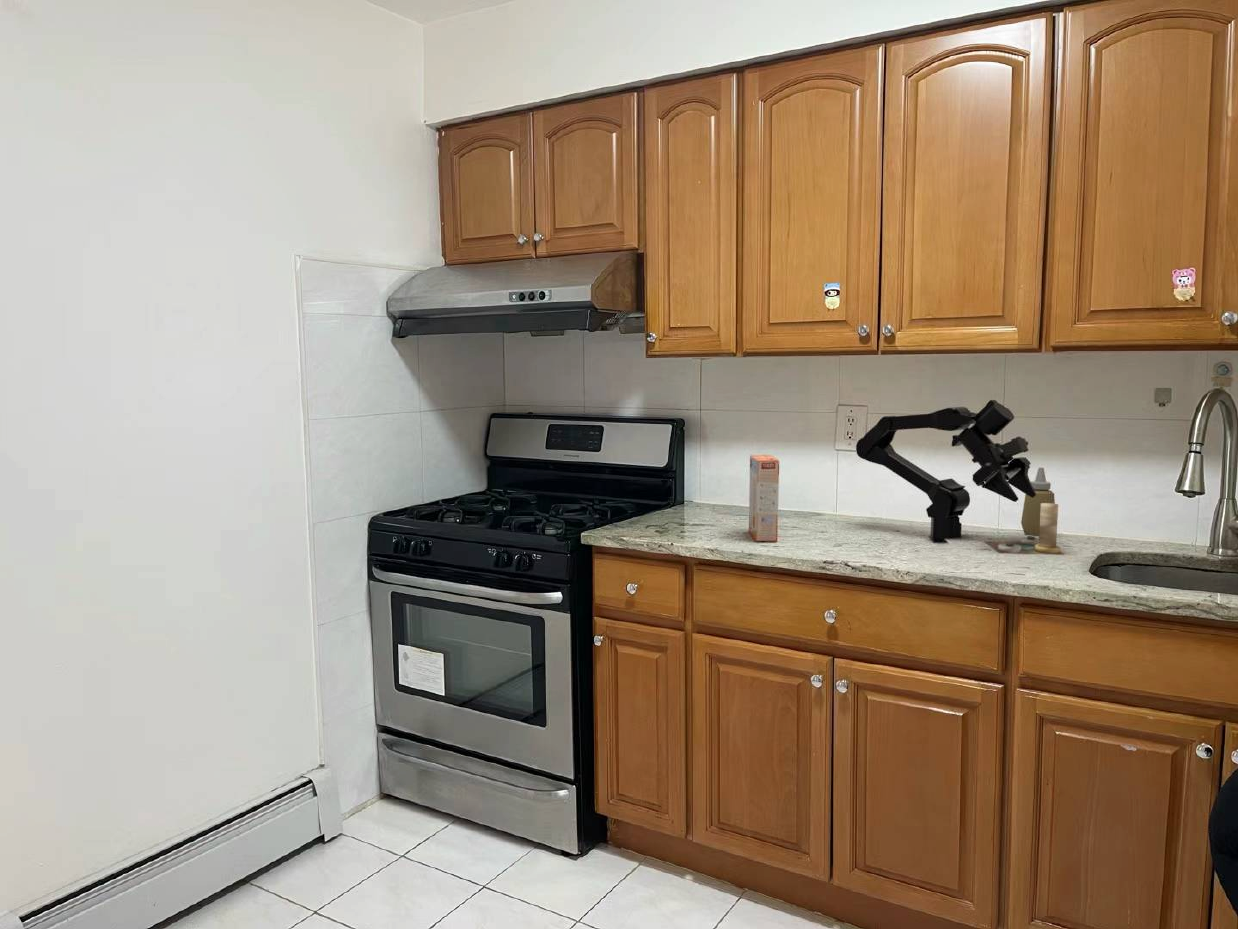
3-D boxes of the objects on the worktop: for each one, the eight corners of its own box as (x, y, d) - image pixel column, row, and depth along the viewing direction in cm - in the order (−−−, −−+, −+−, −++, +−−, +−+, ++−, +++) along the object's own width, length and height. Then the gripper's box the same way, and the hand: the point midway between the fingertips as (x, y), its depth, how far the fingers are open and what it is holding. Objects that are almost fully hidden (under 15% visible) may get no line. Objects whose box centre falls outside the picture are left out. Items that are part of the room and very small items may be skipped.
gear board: (998, 558, 203) (999, 545, 203) (983, 546, 217) (984, 534, 216) (1063, 559, 201) (1064, 546, 201) (1044, 547, 214) (1045, 535, 214)
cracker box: (779, 542, 223) (780, 459, 220) (755, 542, 223) (755, 459, 221) (770, 532, 237) (771, 453, 234) (748, 532, 237) (748, 454, 234)
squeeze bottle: (1035, 542, 221) (1039, 470, 219) (1013, 536, 229) (1016, 466, 226) (1062, 540, 223) (1066, 469, 221) (1039, 534, 231) (1042, 465, 229)
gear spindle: (1038, 553, 202) (1041, 505, 201) (1031, 548, 207) (1033, 502, 206) (1063, 554, 201) (1065, 506, 200) (1055, 549, 207) (1057, 502, 205)
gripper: (987, 427, 203) (1034, 480, 196) (1023, 423, 215) (1069, 473, 208) (953, 459, 210) (997, 511, 203) (990, 453, 222) (1033, 502, 215)
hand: (1025, 498), depth 207 cm, fingers open, 9 cm apart
